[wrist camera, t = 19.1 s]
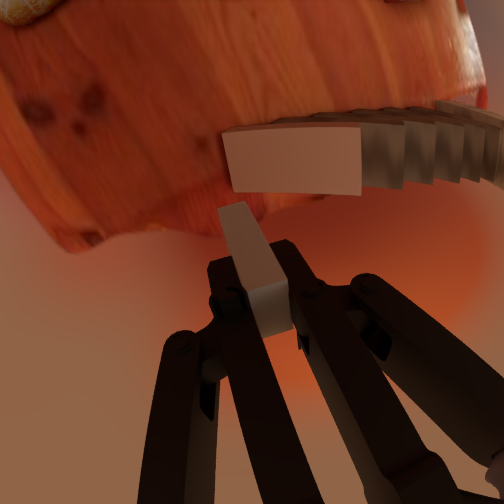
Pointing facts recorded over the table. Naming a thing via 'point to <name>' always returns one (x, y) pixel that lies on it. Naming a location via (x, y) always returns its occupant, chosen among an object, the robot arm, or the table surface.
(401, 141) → the domino
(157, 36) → the table surface
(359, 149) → the domino
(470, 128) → the domino
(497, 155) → the domino
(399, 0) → the ink box
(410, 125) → the domino
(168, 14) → the table surface
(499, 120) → the bookend block
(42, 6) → the fruit
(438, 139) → the domino
